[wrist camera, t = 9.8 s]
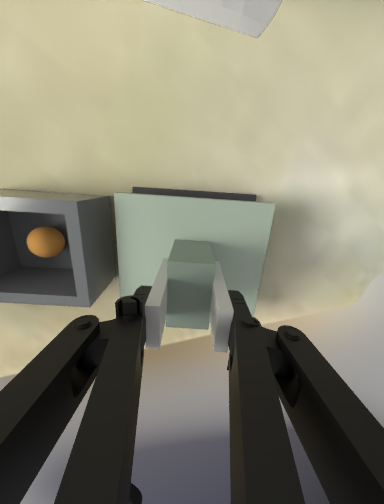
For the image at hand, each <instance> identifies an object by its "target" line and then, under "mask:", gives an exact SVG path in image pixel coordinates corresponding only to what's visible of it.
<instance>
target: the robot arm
mask: <svg viewBox="0 0 384 504" xmlns="http://www.w3.org/2000/svg"><path fill="white" fill-rule="evenodd" d="M168 259H169V258H163V261H162V263H161V266H160V268H159V271H158V274H157V276H156V279H155V281H154V284H153V286H142V285H141V286H140V287H139V288H137V289H136V291H135V293H134V294H133V295H130V296H124V297H121V298H120V299H118V300H117V301H116V302H115V307H116V319H113V320H109V321H103V322H99V319H98V318H97V317H96V316H93V315H85V316H81V317H78V318H76V319H74V320H73V321H72V322H70V323H69V324H68V325H67V326H66V327H65V328H64V329H63V330H62V331H61V332H60V333H59V334H58V335H57V336H56V337H55V338H54V339H53V340H52V341H51V342H50V343H49V344H48V345H47V346H46V347H45V348H44V349H43V350H42V351H41V352H40V353H39V354H38V355H37V356H36V357H35V358H34V359H33V360H32V361H31V362H30V363H29V364H28V365H27V366H26V367H25V368H24V369H23V370H22V371H21V372H20V373H19V374H18V375H17V376H16V377H14V379H12V381H10V382H9V383H8V384H7V385H6V386H5V387H4V388H3V389H2V390H1V391H0V504H20V502H21V501H22V499H23V497H24V496H25V494H26V492H27V491H28V489H29V487H30V486H31V484H32V482H33V481H34V479H35V477H36V475H37V474H38V472H39V471H40V469H41V467H42V466H43V464H44V462H45V461H46V459H47V457H48V456H49V454H50V452H51V451H52V449H53V447H54V446H55V444H56V442H57V441H58V439H59V437H60V436H61V434H62V433H63V431H64V429H65V427H66V426H67V424H68V423H69V421H70V419H71V418H72V416H73V414H74V413H75V411H76V409H77V407H78V406H79V404H80V402H81V401H82V399H83V397H84V396H85V394H86V393H87V391H88V389H89V388H90V386H91V384H92V383H93V381H94V379H95V378H96V379H95V382H94V385H93V388H92V391H91V394H90V397H89V400H88V403H87V406H86V409H85V412H84V416H83V418H82V421H81V424H80V427H79V430H78V433H77V436H76V439H75V442H74V445H73V448H72V451H71V454H70V457H69V460H68V463H67V466H66V469H65V472H64V475H63V478H62V481H61V484H60V487H59V490H58V493H57V496H56V499H55V502H54V504H142V495H141V492H140V491H139V489H138V488H137V487H136V486H135V485H133V484H132V483H131V474H132V465H133V455H134V445H135V435H136V425H137V415H138V407H139V397H140V387H141V378H142V367H143V358H144V345H145V341H146V348H158V349H159V348H160V344H161V339H162V334H163V329H164V324H165V320H166V315H167V264H168ZM215 264H216V266H215V275H214V281H213V289H212V298H211V307H210V325H211V334H212V342H213V351H214V352H227V351H228V345H229V350H230V354H229V360H228V367H227V370H229V404H230V405H229V412H230V477H231V504H305V501H304V497H303V493H302V489H301V485H300V481H299V477H298V473H297V469H296V465H295V461H294V457H293V453H292V448H291V444H290V441H289V436H288V433H287V428H286V424H285V420H284V416H283V412H282V408H281V404H280V400H279V398H280V399H281V402H282V404H283V406H284V408H285V410H286V412H287V414H288V416H289V418H290V420H291V423H292V425H293V427H294V429H295V431H296V433H297V435H298V437H299V439H300V441H301V443H302V446H303V447H304V450H305V452H306V454H307V456H308V458H309V460H310V462H311V464H312V466H313V468H314V471H315V473H316V475H317V477H318V479H319V481H320V483H321V485H322V487H323V489H324V491H325V494H326V496H327V498H328V500H329V502H330V504H384V428H383V427H382V426H381V425H380V423H379V422H378V421H377V420H376V419H375V417H374V416H373V415H372V414H371V413H370V412H369V410H368V409H367V408H366V407H365V406H364V404H363V403H362V402H361V401H360V400H359V398H358V397H357V396H356V395H355V394H354V393H353V391H352V390H351V389H350V388H349V387H348V385H347V384H346V383H345V382H344V381H343V379H342V378H341V377H340V376H339V375H338V373H337V372H336V371H335V370H334V369H333V367H332V366H331V365H330V364H329V363H328V361H327V360H326V359H325V358H324V357H323V356H322V355H321V353H320V352H319V351H318V350H317V348H316V347H315V346H314V345H313V344H312V342H311V341H310V340H309V339H308V338H307V337H306V335H305V334H304V333H303V332H301V331H300V330H298V329H297V328H294V327H292V326H286V325H284V326H280V327H279V328H278V331H273V330H269V329H266V328H264V327H262V326H261V324H260V322H259V321H258V320H257V319H256V318H254V317H252V315H251V313H250V310H249V308H248V306H247V304H246V301H245V299H244V296H243V295H242V294H241V293H240V292H239V291H237V290H227V287H226V284H225V281H224V277H223V274H222V271H221V268H220V264H219V261H215Z"/></svg>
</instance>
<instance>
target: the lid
mask: <svg viewBox="0 0 384 504" xmlns="http://www.w3.org/2000/svg"><path fill="white" fill-rule="evenodd" d="M114 205H115V220H116V236H117V252H118V267H119V283H120V298H121V297H124V296H130V295H133V294H134V293H135V291H136V289H137V288H139V287H140V286H141V285H142V286H153V284H154V281H155V279H156V276H157V274H158V271H159V268H160V266H161V263H162V261H163V258H169V259H168V264H167V315H166V320H165V321H166V327H175V328H192V329H208V328H209V323H210V307H211V298H212V289H213V281H214V275H215V266H216V264H215V261H219V264H220V268H221V271H222V274H223V277H224V281H225V284H226V287H227V290H237V291H239V292H240V293H241V294H242V295H243V296H244V299H245V301H246V304H247V306H248V308H249V310H250V313H251V315H252V317H253V315H254V310H255V305H256V300H257V295H258V290H259V285H260V280H261V275H262V270H263V265H264V260H265V255H266V250H267V245H268V240H269V235H270V231H271V226H272V221H273V216H274V211H275V206H276V204H274V203H269V202H254V201H239V200H225V199H210V198H195V197H181V196H166V195H151V194H137V193H122V192H117V193H114Z"/></svg>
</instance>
